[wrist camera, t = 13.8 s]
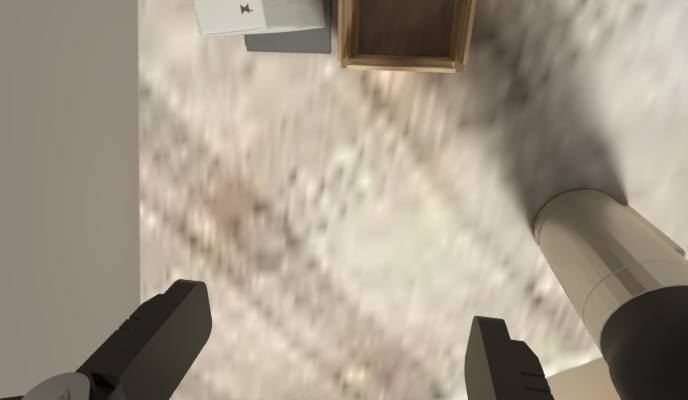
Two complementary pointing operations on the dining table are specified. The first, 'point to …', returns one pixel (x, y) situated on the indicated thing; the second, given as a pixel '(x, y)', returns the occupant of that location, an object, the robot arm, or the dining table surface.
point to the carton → (353, 60)
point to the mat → (295, 38)
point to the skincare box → (257, 16)
